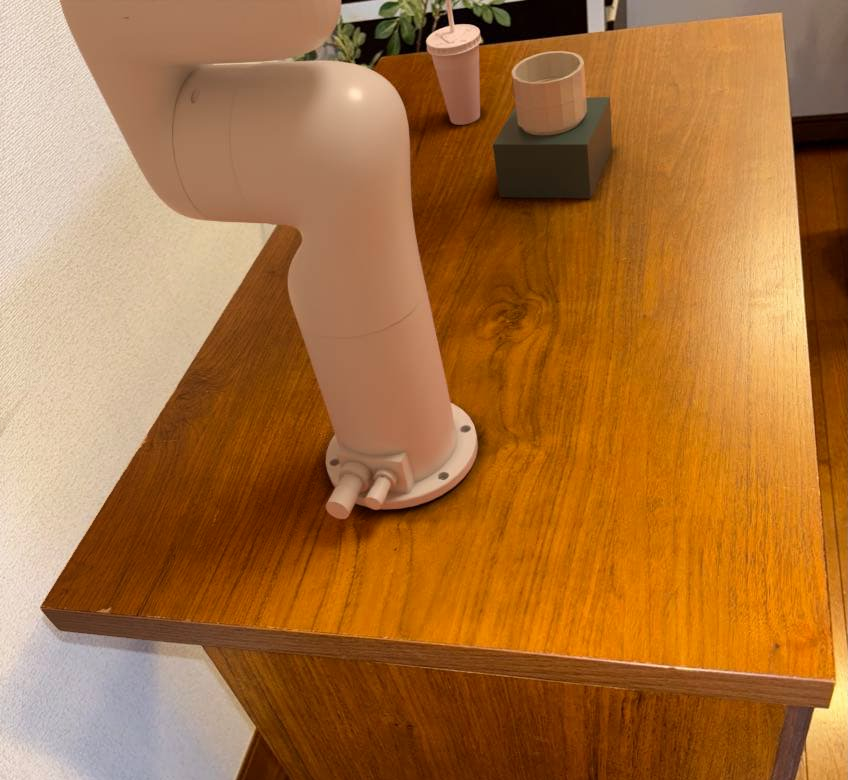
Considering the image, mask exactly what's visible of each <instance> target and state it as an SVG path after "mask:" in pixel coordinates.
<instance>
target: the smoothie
mask: <svg viewBox="0 0 848 780" xmlns="http://www.w3.org/2000/svg"><path fill="white" fill-rule="evenodd" d="M451 1H452V0H445V5H446V13H447V18H448V25H447V26H444V27H442V28H439V29H436V30H435V31H433V32H432V33H430V34H429V35H428V37H426V40H425V43H426V51H427V52H428V54H430V55H431V59H432V63H433V66H434V69H435V72H436V77H437V79H438V83H439V86H440V90H441V93H442V96H443V97H442V98H443V100H444V103H445V107H446V111H447V114H448V117H449V121H450V123H452V124H454V125H459V126H461V125H462V126H463V125H469V124H471V123H475V122H476V121H478V120H479V119H480V117H481V97H480V96H481V87H480V86H481V85H480V44H481V42H482V36H481V30H480V28H479V27H477V26H476V25H473V24H469V23H468V24H466V23H461V24H460V23H459V24H455V21H454V14H453V9H452V2H451Z"/></svg>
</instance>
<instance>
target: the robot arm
mask: <svg viewBox="0 0 848 780" xmlns="http://www.w3.org/2000/svg"><path fill="white" fill-rule="evenodd" d="M59 3H60V6H61V10H62V13H63V15H64V19H65V21H66V24H67V26H68V29H69V31H70V34H71V36H72V38H73V40H74V42H75V44H76V46H77V48H78V50H79V52H80V54H81V57H82V58H83V60H84V62H85V64H86V66H87V69H88V71H89V73H90V74H91V76H92V78H93V80H94V82H95V84H96V86H97V88H98V90H99V92H100V94H101V96H102V98H103V100H104V102H105V104H106V106H107V107H108V110H109V111H110V113H111V115H112V117H113V119H114V122H115V123H116V125H117V127H118V129H119V131H120V133H121V135H122V137H123V140H124V141H125V143H126V145H127V146H128V149H129V150H130V152H131V154H132V156H133V158H134V161H135V162H136V164H137V165H138V168H139V169H140V172H141V173H142V175H143V176H144V179H145V181H146V182H147V183H148V184H149V187H150V188H151V189H152V190H153V192H154V193H155V195H156V196H157V197H158V198H159V199H160V200H161V202H163V203H164V205H166V206H167V207H168V208H170V210H172V211H173V212H176V214H179V215H181V216H183V217H185V218H189V219H192V220H193V219H194V220H198V221H206V222H220V223H242V224H245V223H246V224H268V225H272V226H274V225H276V226H287V227H292V228H294V229H296V230H297V231H298V232H299V233H300V237H301V243H300V245H299V247H298V248H297V250H296V252H295V253H294V255H293V258H292V259H291V262H290V265H289V268H288V273H287V291H288V297H289V300H290V304H291V307H292V311H293V314H294V317H295V319H296V321H297V324H298V328H299V330H300V334H301V337H302V340H303V342H304V345H305V348H306V351H307V355H308V357H309V360H310V363H311V367H312V369H313V373H314V375H315V378H316V382H317V385H318V388H319V390H320V393H321V396H322V399H323V402H324V405H325V408H326V411H327V415H328V417H329V420H330V423H331V426H332V429H333V433H334V435H333V436H332V438H331V439H330V441H329V443H328V447H327V449H326V451H325V452H326V453H325V466H326V471H327V474H328V477H329V481H330V482H331V484H332V486H333V488H334V489H333V491H332V493H331V495H330V496H329V498H328V500H327V502H326V504H325V509H326V512H327V513H328V514H329V515H330V516H332V517H334V518H336V519H338V520H345V519H347V518H348V517H349V516H350V514H351V513H352V511H353V509H354V507H355V505H358V506H362V507H366V508H369V509H370V510H371V509H372V510H374V511H379V510H399V509H406V508H409V507H410V508H412V507H415V506H419V505H423V504H425V503H428V502H430V501H433V500H435V499H436V498H439V497H441V496H443V495H444V494H446V493H447V492H449V491H450V490H452V489H454V488H455V487H456V486H457V485H458V484H459V483H460V482H461V481H462V480H463V479H465V477H466V476H467V474H468V473H469V472H470V470H471V469H472V467H473V465H474V463H475V461H476V458H477V454H478V450H479V449H478V448H479V442H478V434H477V431H476V427H475V424H474V422H473V421H472V419H471V417H470V416H469V415H468V413H466V411H464V409H462V408H461V407H459V406H457V405H456V404H454V403H452V402H451V399H450V398H451V397H450V394H449V393H450V392H449V390H448V389H449V388H448V386H447V385H448V384H447V379H446V375H445V370H444V364H443V360H442V356H441V351H440V346H439V341H438V337H437V332H436V327H435V323H434V318H433V313H432V309H431V304H430V299H429V294H428V289H427V284H426V281H425V276H424V271H423V266H422V261H421V255H420V251H419V246H418V240H417V235H416V228H415V227H416V226H415V220H414V212H413V200H412V199H413V198H412V183H411V182H412V181H411V139H410V127H409V121H408V116H407V110H406V108H405V104H404V102H403V100H402V97H401V96H400V94H399V92H398V90H397V89H396V88H395V87H394V85H393V84H392V83H391V82H390V81H389V80H388V79H386V77H384V76H383V75H381V74H380V73H379V72H377V71H375V70H373V69H371V68H369V67H366V66H363V65H360V64H358V63H357V64H356V63H352V62H345V61H340V60H324V59H323V60H317V59H316V60H290V61H287V59H294V58H297V57H299V56H303V55H305V54H308V53H311V52H314V51H315V50H316V49H318V48H320V46H321V45H323V44H324V43H325V42H327V41H328V40H329V39H330V38H331V36H332V34H333V33H334V31H335V29H336V27H337V25H338V23H339V20H340V17H341V12H342V0H59ZM282 60H286V61H282Z"/></svg>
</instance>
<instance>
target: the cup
mask: <svg viewBox="0 0 848 780" xmlns="http://www.w3.org/2000/svg"><path fill="white" fill-rule="evenodd" d="M510 74H511V82H512V91H513V99H514V108H516V117H517V122H518V125H519V126H520V127H522V129H523V130H524V131H526V132H527V133H530V134H534V135H554V134H559V133H563V132H566V131H568V130H571V129H573V128H574V127H576V126H577V125H579V124H580V123H581V121H582V120H583V118H584V116H585V114H586V112H587V101H586V98H587V91H586V90H587V88H586V86H587V85H586V69H585V61H584V58H583V57H582V56H581V55H579V54H578V53H576V52H571V51H567V50H554V51H553V50H552V51H551V50H550V51H546V52H541V53H536V54H533V55H531V56H527V57H525V58H524V59H522V60H520V61H519V62H517V63H516V64H515V65H514V66H513V68H512V69H511V72H510Z"/></svg>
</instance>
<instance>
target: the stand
mask: <svg viewBox="0 0 848 780" xmlns="http://www.w3.org/2000/svg"><path fill="white" fill-rule="evenodd" d="M586 101H587V112H586V114H585V116H584V118H583V120H582V121H581V123H580V124H579V125H577V126H576V127H574V128H573V129H571V130H568V131H566V132H563V133H559V134H554V135H534V134H530V133H527V132H526V131H524V130H523V129H522V127H520V126H519V125H518V122H517V117H516V108H515V107H514V108H513V110H512V111H511V113H510V115H509V117H508V118H507V119H506V122H504V125H503V126H502V128H501V130H500V132H499V133H498V135H497V136H496V138H495V139H494V141H493V143H492V149H493V157H494V164H495V172H496V179H497V186H498V192H499V194H498V195H499V198H523V199H526V198H527V199H529V198H530V199H576V200H577V199H581V200H583V199H584V200H585V199H586V200H587V199H588V200H589V199H592V197H593V194H594V192H595V190H596V188H597V186H598V184H599V181H600V179H601V176H602V174H603V172H604V169H605V168H606V166H607V163H608V161H609V159H610V157H611V155H612V152H613V133H612V132H613V131H612V109H611V97H610V96H599V97H598V96H596V97H586Z"/></svg>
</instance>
